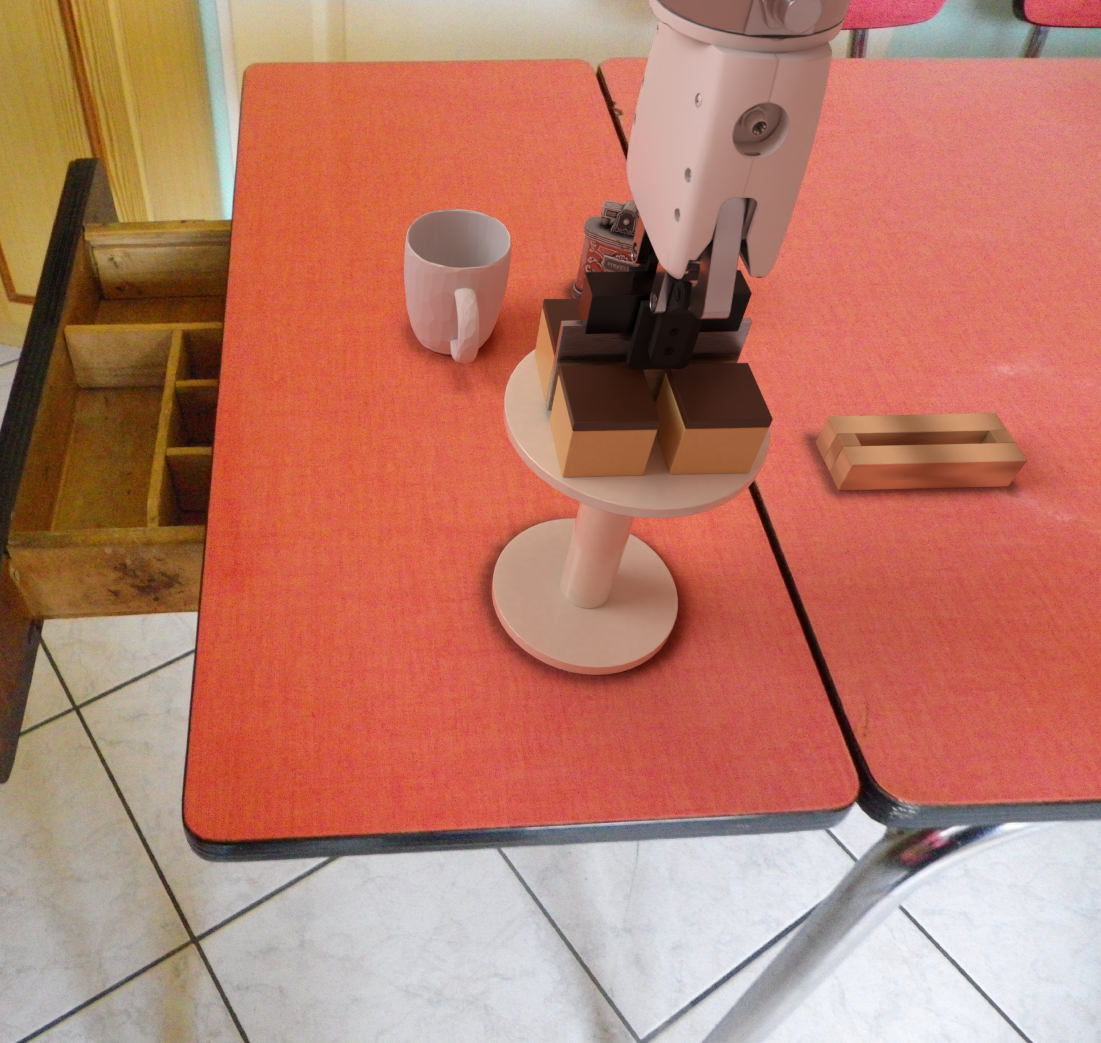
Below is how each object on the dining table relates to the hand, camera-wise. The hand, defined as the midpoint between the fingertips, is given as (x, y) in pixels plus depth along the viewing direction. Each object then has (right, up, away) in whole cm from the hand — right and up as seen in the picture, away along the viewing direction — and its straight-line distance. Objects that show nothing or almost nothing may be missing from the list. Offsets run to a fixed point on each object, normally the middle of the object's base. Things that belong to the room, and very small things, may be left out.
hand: (650, 346), depth 51 cm
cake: (0, -3, +4) cm, 5 cm away
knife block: (+28, -5, +27) cm, 39 cm away
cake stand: (0, -15, +17) cm, 23 cm away
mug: (-9, +6, +35) cm, 37 cm away
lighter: (+7, +11, +40) cm, 42 cm away
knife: (0, -3, +3) cm, 4 cm away
